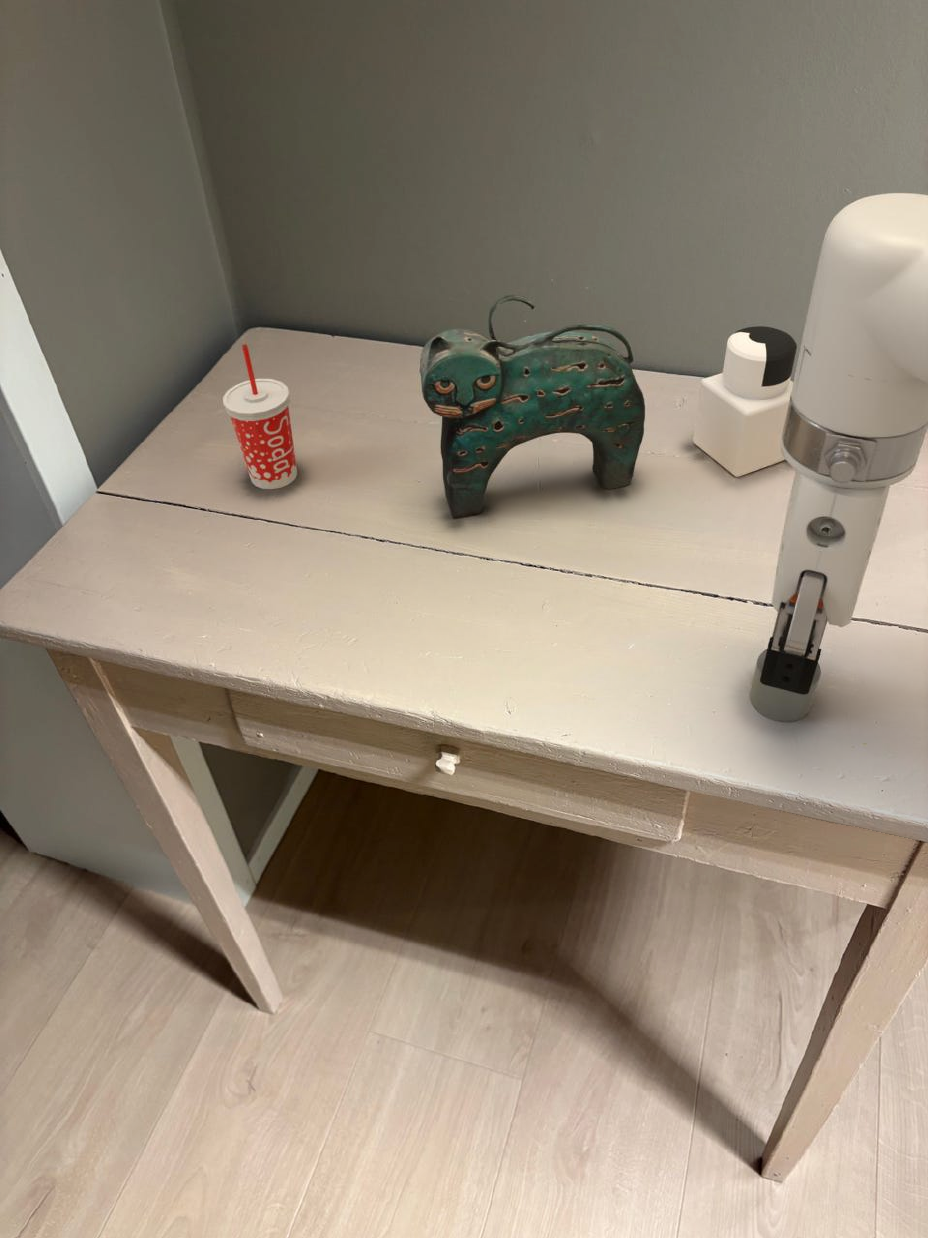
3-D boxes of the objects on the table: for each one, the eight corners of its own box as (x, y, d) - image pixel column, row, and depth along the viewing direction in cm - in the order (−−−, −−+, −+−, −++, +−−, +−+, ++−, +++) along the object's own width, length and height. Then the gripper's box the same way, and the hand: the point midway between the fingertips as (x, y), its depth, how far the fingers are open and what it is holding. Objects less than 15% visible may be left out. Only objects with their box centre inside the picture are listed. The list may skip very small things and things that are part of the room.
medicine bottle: (749, 422, 97) (769, 310, 89) (796, 457, 92) (822, 342, 84) (691, 442, 95) (705, 330, 87) (736, 479, 90) (756, 364, 82)
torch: (815, 686, 71) (847, 582, 64) (806, 728, 69) (837, 625, 61) (755, 670, 73) (780, 567, 66) (744, 712, 70) (768, 609, 63)
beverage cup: (252, 500, 92) (219, 369, 82) (236, 468, 96) (202, 339, 86) (313, 482, 93) (287, 352, 84) (294, 451, 97) (268, 323, 88)
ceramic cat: (436, 529, 87) (418, 324, 73) (424, 488, 92) (404, 288, 78) (645, 493, 89) (666, 288, 76) (623, 455, 94) (638, 255, 80)
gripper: (908, 534, 48) (831, 754, 60) (934, 366, 59) (865, 580, 71) (756, 504, 50) (712, 721, 62) (809, 347, 61) (763, 558, 74)
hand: (794, 645), depth 67 cm, fingers open, 7 cm apart
